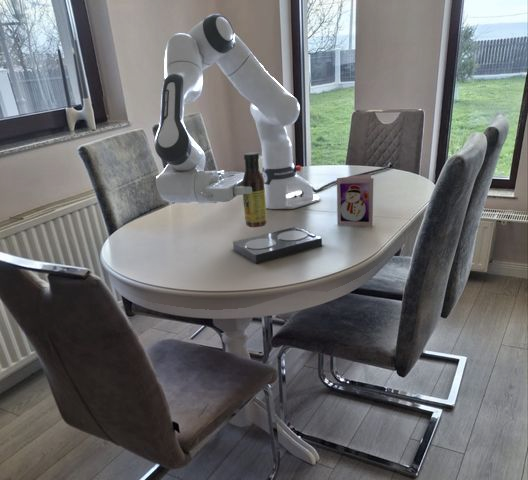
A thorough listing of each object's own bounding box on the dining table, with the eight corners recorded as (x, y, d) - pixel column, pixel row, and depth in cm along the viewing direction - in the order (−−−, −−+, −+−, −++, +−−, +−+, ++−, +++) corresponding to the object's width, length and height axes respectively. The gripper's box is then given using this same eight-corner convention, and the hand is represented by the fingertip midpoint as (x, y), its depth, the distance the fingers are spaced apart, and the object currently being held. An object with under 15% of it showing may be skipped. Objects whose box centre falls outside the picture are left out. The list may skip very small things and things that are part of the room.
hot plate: (295, 234, 162) (295, 225, 160) (321, 246, 150) (321, 236, 149) (233, 250, 154) (232, 241, 152) (256, 263, 142) (255, 254, 140)
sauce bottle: (245, 223, 149) (238, 151, 140) (266, 221, 150) (261, 149, 140) (246, 229, 144) (239, 155, 134) (268, 227, 144) (263, 153, 134)
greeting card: (336, 226, 166) (336, 178, 158) (342, 219, 171) (342, 173, 164) (371, 227, 162) (372, 178, 154) (376, 220, 167) (377, 173, 160)
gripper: (194, 184, 135) (243, 183, 131) (221, 168, 151) (265, 167, 148) (197, 207, 138) (246, 207, 134) (223, 189, 155) (267, 189, 151)
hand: (256, 186), depth 141 cm, fingers closed on sauce bottle, 6 cm apart
